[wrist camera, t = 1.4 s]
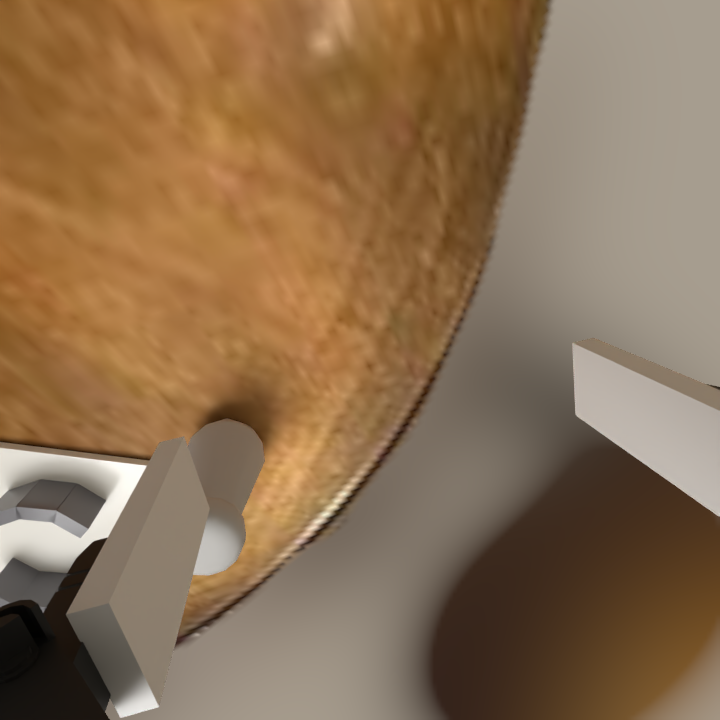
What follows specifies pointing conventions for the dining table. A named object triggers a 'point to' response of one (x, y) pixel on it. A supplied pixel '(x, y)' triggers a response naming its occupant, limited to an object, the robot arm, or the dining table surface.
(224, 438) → the salt shaker
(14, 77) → the dining table surface
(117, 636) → the robot arm
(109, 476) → the square base with blocks
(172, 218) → the dining table surface
